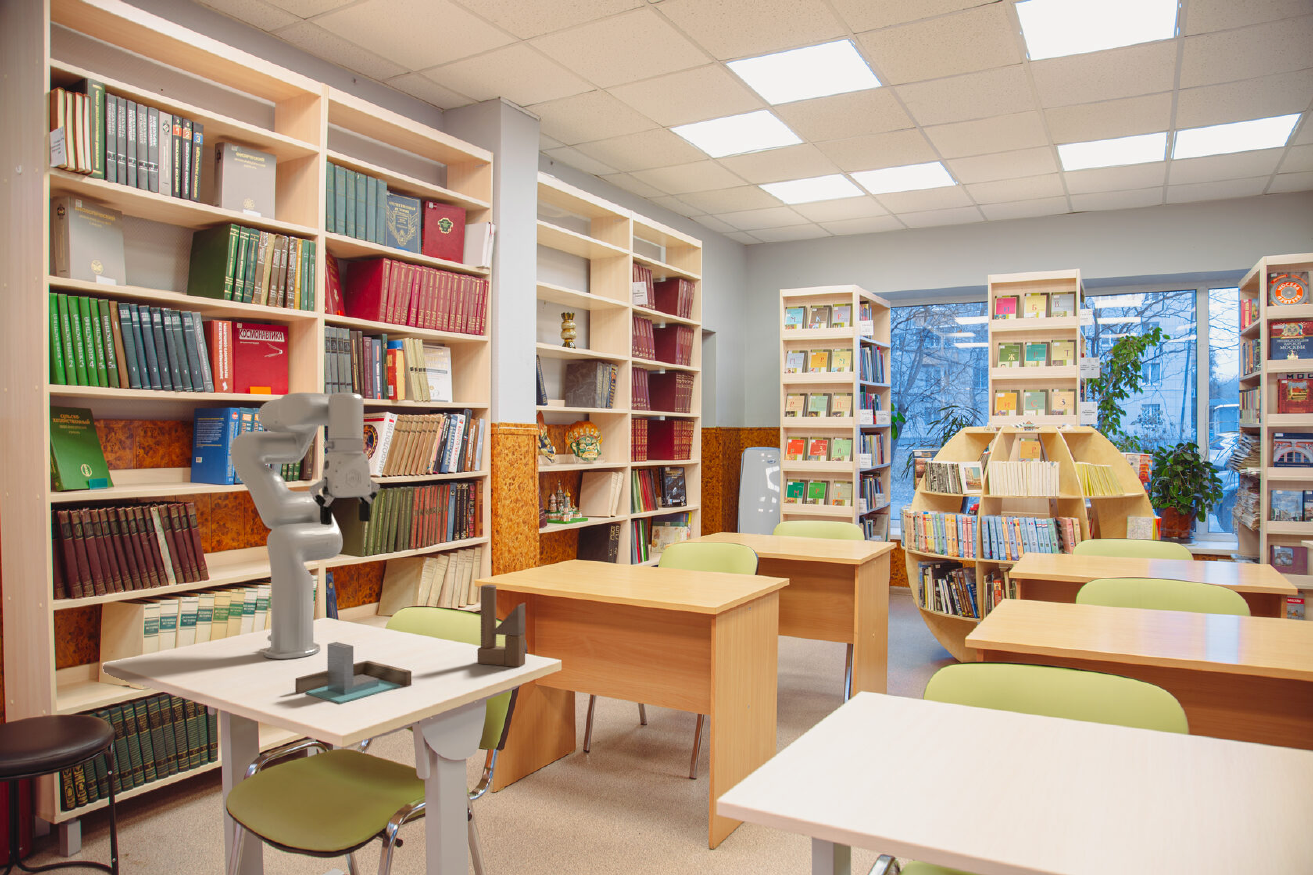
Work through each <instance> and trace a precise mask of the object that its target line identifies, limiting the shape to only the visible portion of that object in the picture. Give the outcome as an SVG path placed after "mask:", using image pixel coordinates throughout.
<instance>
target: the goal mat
mask: <svg viewBox="0 0 1313 875" xmlns="http://www.w3.org/2000/svg"><path fill="white" fill-rule="evenodd" d="M401 686H402V685H399V684H395V683H391V682H388V681H384V680H380V679H379V686H377V687H373V688H370V689H366V690H362V691H359V692H355V693H351V694H348V695H341V694H338V693H335V692H331V691H328V690H327V686H325V687H322V688H318V689H314V690H310V691H306V692H305V694H306V695H310V696H313V697H316V698H320V699H324V700H326V701H330V702H332V703H333V702H334V703H336V704H339V705H342V704H345V703H349V702H353V701H355V700H356V701H357V700H359V699H362V698H367V697H369V696H373V695H377V694H381V693H384V692H386V691H391V690H393V689H398V688H400V687H401Z"/></svg>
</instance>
